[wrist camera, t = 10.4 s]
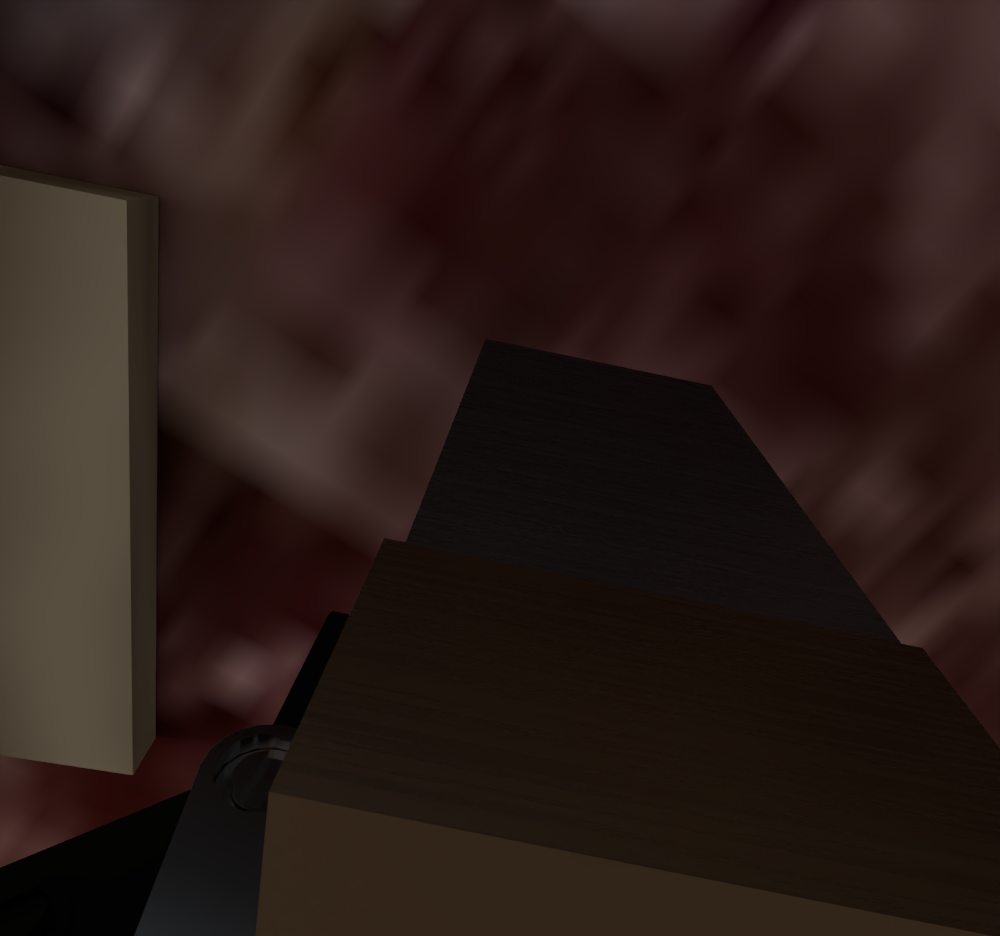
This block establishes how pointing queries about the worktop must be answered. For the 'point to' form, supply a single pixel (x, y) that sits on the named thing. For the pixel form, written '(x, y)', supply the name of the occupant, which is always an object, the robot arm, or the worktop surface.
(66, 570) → the board
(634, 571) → the brown rectangular block
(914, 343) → the worktop surface
